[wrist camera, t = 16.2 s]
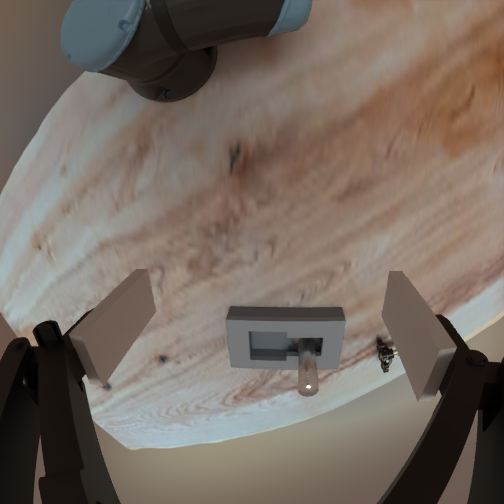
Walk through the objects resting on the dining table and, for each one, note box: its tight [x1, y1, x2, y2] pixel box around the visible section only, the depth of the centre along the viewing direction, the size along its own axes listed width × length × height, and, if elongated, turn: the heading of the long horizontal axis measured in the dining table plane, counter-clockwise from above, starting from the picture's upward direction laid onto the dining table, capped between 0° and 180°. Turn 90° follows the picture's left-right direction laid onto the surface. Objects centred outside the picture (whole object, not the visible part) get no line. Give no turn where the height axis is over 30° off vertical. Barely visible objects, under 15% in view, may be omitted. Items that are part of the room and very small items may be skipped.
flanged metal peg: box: [292, 338, 321, 396], centre depth 46 cm, size 5×5×14 cm
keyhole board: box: [226, 306, 346, 370], centre depth 51 cm, size 20×11×4 cm, turn 92°
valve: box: [377, 339, 399, 373], centre depth 48 cm, size 7×7×12 cm
